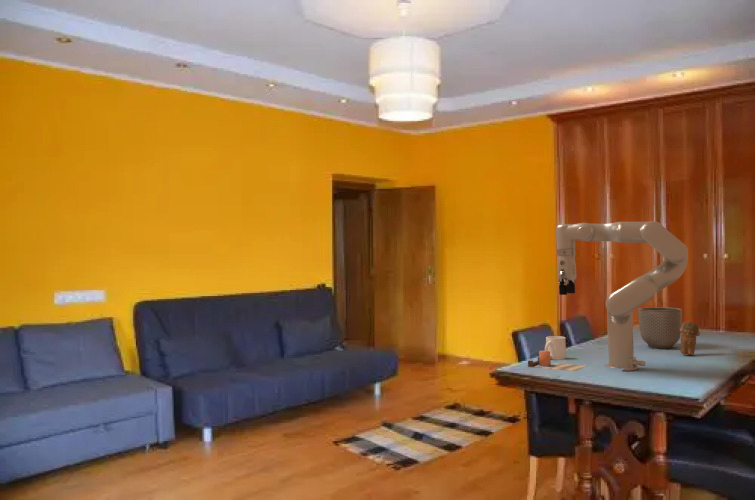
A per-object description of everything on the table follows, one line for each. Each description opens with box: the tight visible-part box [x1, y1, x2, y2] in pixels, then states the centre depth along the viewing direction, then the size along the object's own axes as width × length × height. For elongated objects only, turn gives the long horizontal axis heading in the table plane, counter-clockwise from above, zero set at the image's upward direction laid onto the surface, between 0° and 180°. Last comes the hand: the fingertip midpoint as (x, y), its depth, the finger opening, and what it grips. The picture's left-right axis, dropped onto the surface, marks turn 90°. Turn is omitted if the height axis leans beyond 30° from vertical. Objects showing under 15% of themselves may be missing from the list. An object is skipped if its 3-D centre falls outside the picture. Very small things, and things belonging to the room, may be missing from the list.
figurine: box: [679, 320, 701, 356], centre depth 278 cm, size 8×8×15 cm
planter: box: [637, 306, 683, 350], centre depth 302 cm, size 20×20×19 cm
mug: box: [544, 335, 567, 360], centre depth 272 cm, size 12×8×10 cm
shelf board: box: [527, 356, 586, 372], centre depth 252 cm, size 20×13×4 cm, turn 54°
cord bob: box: [538, 350, 552, 367], centre depth 255 cm, size 4×4×7 cm
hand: (567, 294), depth 259 cm, fingers open, 9 cm apart
